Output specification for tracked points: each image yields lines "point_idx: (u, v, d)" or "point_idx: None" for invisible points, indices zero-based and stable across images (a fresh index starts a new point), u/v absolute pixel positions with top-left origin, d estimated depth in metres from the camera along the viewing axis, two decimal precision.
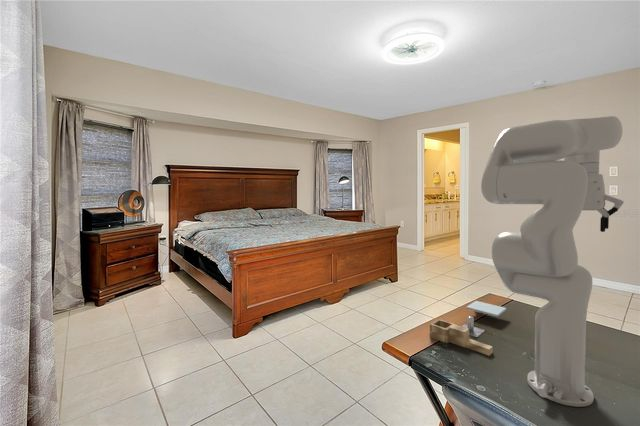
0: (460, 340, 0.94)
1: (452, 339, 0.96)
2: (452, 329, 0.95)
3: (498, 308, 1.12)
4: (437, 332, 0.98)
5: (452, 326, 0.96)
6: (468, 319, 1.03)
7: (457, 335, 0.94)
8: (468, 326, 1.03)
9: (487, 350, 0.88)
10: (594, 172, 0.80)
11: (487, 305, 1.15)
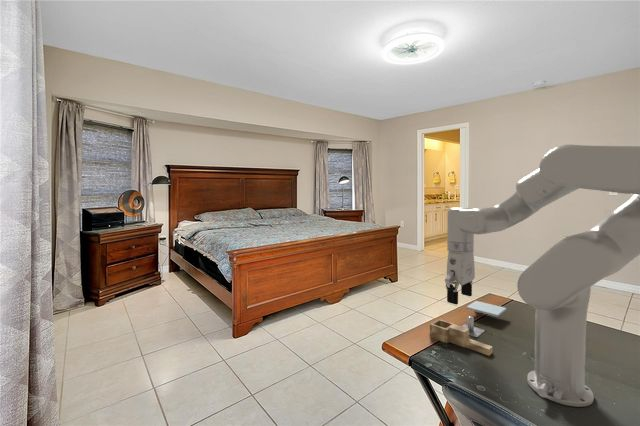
0: (460, 340, 0.94)
1: (452, 339, 0.96)
2: (452, 329, 0.95)
3: (498, 308, 1.12)
4: (437, 332, 0.98)
5: (452, 326, 0.96)
6: (468, 319, 1.03)
7: (457, 335, 0.94)
8: (468, 326, 1.03)
9: (487, 350, 0.88)
10: None
11: (487, 305, 1.15)
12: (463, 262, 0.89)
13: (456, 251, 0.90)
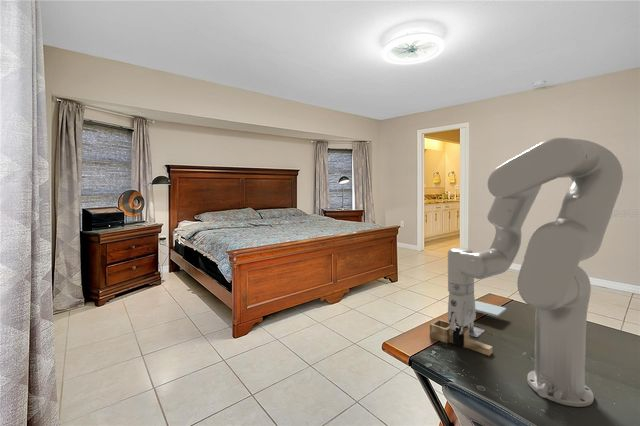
0: None
1: (452, 339, 0.96)
2: None
3: (498, 308, 1.12)
4: (437, 332, 0.98)
5: None
6: None
7: None
8: None
9: (486, 350, 0.88)
10: None
11: (487, 305, 1.15)
12: (464, 304, 0.90)
13: (457, 293, 0.91)
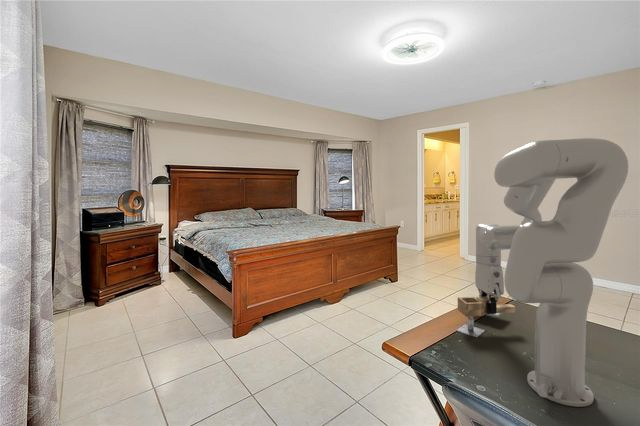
0: None
1: (484, 310, 1.01)
2: (484, 301, 1.01)
3: None
4: (474, 309, 1.00)
5: (481, 298, 1.02)
6: (468, 319, 1.03)
7: None
8: (468, 326, 1.03)
9: (513, 308, 1.02)
10: None
11: None
12: None
13: (496, 264, 0.98)
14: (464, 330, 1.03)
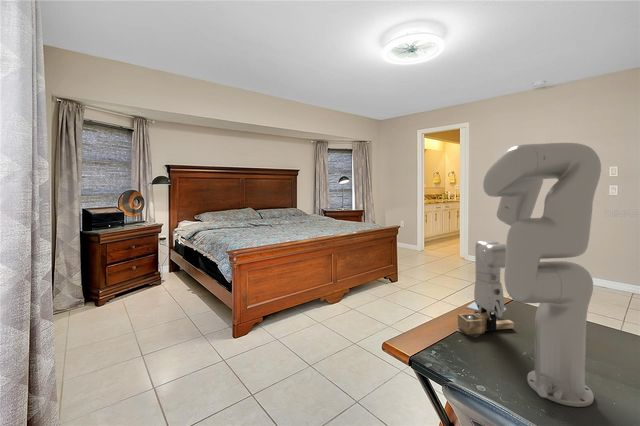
0: None
1: (484, 327, 1.02)
2: (484, 318, 1.02)
3: None
4: (475, 326, 1.00)
5: (481, 315, 1.03)
6: (468, 319, 1.03)
7: None
8: None
9: (512, 324, 1.03)
10: None
11: None
12: None
13: (496, 281, 0.99)
14: None
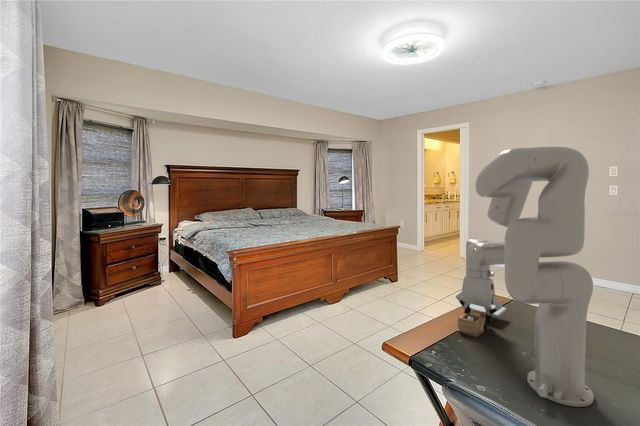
0: (483, 320, 1.06)
1: None
2: (480, 315, 1.05)
3: None
4: (479, 326, 1.01)
5: (476, 313, 1.05)
6: (468, 319, 1.03)
7: (482, 318, 1.06)
8: None
9: None
10: None
11: None
12: None
13: (489, 277, 1.04)
14: None
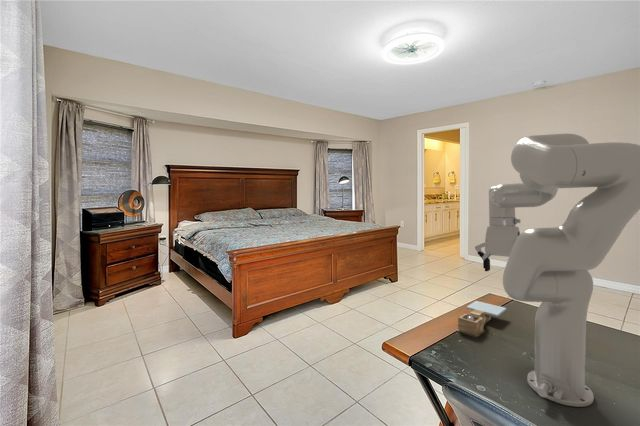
0: (483, 320, 1.06)
1: None
2: (480, 315, 1.05)
3: (498, 308, 1.12)
4: (479, 326, 1.01)
5: (476, 313, 1.05)
6: (468, 319, 1.03)
7: (482, 318, 1.06)
8: None
9: (490, 316, 1.12)
10: None
11: (487, 305, 1.15)
12: None
13: None
14: None
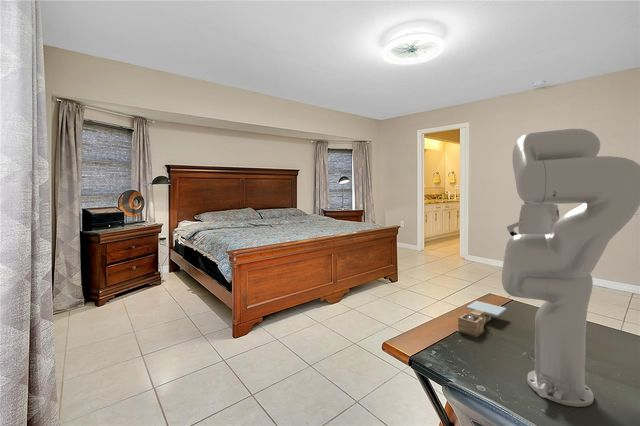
0: (483, 320, 1.06)
1: None
2: (480, 315, 1.05)
3: (498, 308, 1.12)
4: (479, 326, 1.01)
5: (476, 313, 1.05)
6: (468, 319, 1.03)
7: (482, 318, 1.06)
8: None
9: (490, 316, 1.12)
10: None
11: (487, 305, 1.15)
12: None
13: None
14: None
